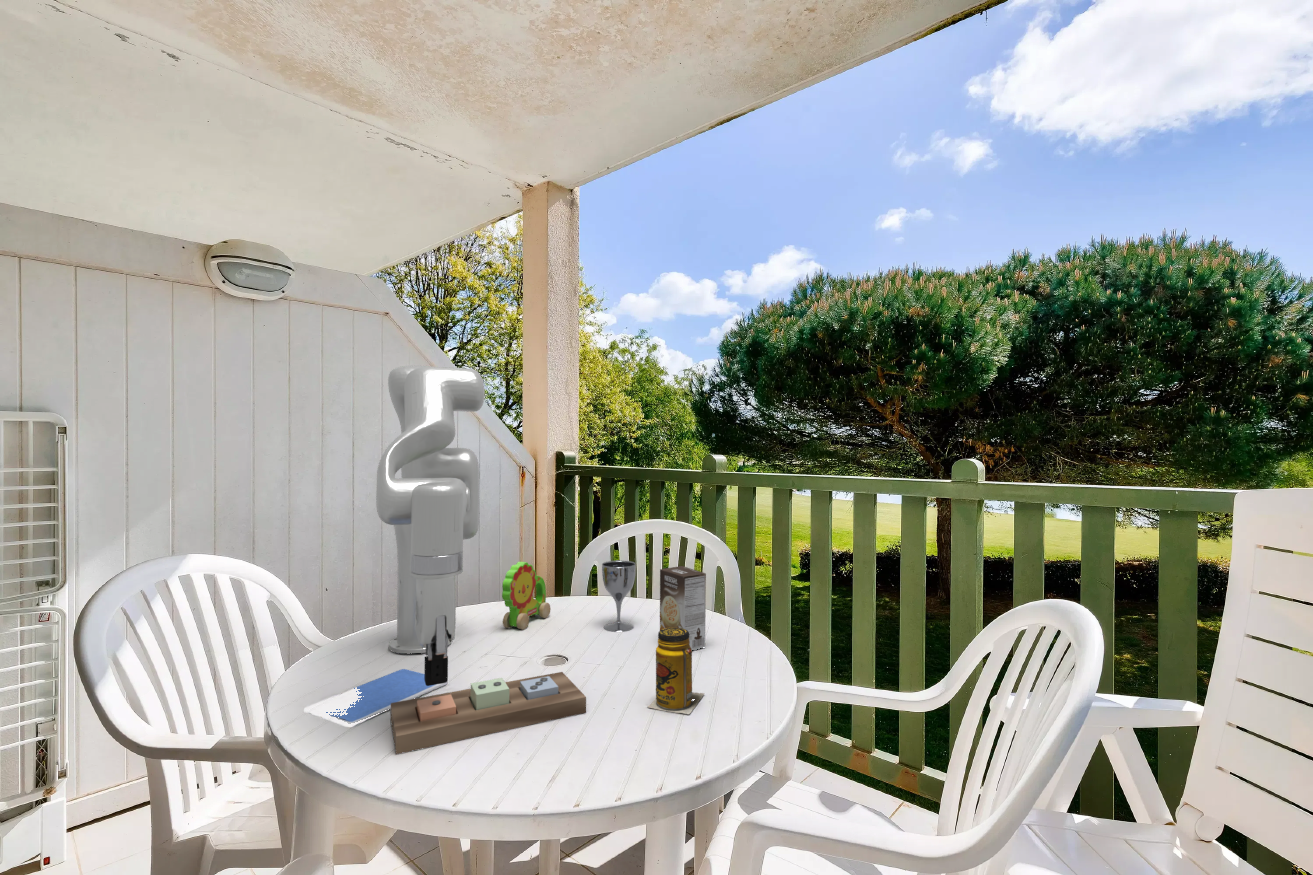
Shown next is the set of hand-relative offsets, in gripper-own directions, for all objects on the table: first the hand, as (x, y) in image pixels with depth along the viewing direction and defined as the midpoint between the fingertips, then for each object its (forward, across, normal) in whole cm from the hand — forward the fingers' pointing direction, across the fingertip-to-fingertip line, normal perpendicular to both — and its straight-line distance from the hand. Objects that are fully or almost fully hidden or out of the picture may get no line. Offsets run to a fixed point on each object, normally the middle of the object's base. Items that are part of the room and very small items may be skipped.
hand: (436, 681), depth 91 cm
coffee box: (+7, -14, +52) cm, 54 cm away
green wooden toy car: (+8, -45, +26) cm, 52 cm away
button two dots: (+5, +1, +8) cm, 9 cm away
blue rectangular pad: (+8, -15, -7) cm, 18 cm away
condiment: (+6, +10, +37) cm, 39 cm away
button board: (+6, +1, +8) cm, 10 cm away
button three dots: (+6, +1, +16) cm, 17 cm away
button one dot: (+6, +1, 0) cm, 6 cm away
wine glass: (+8, -32, +45) cm, 56 cm away
